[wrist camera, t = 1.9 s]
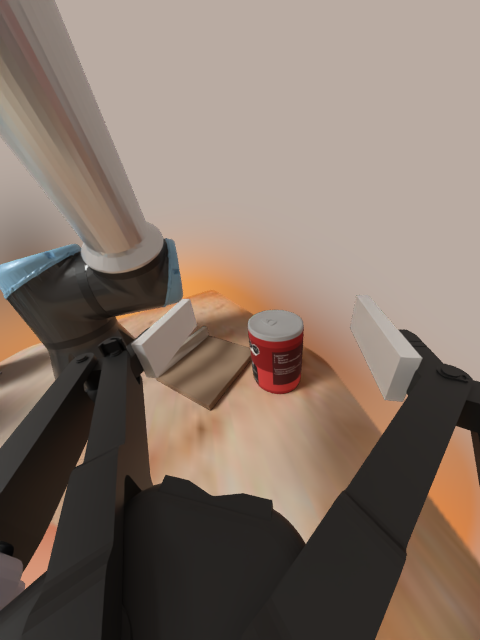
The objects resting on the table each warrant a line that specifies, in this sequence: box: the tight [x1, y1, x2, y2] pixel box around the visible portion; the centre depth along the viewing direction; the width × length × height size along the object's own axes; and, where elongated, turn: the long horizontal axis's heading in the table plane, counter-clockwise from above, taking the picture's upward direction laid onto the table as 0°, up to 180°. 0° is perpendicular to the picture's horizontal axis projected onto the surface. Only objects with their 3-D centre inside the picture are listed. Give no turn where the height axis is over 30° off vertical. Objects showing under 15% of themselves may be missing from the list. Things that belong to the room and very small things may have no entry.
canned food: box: [248, 310, 304, 394], centre depth 30 cm, size 8×8×11 cm
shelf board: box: [156, 326, 251, 411], centre depth 36 cm, size 13×14×4 cm
